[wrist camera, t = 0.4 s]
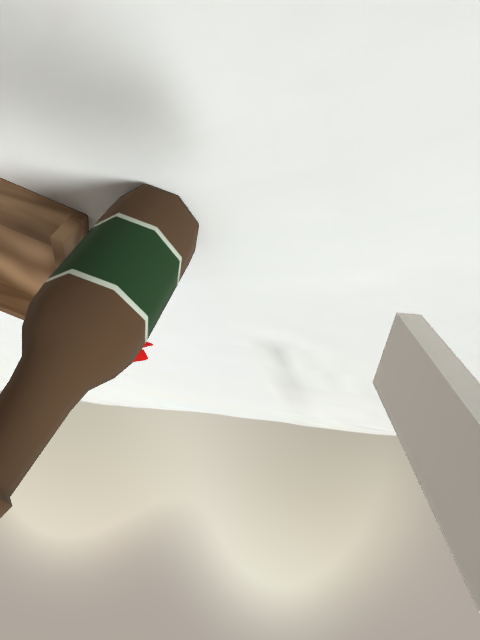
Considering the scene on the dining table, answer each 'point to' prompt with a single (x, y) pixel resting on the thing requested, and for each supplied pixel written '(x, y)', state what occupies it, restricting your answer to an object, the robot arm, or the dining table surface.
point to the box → (32, 243)
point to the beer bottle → (92, 320)
